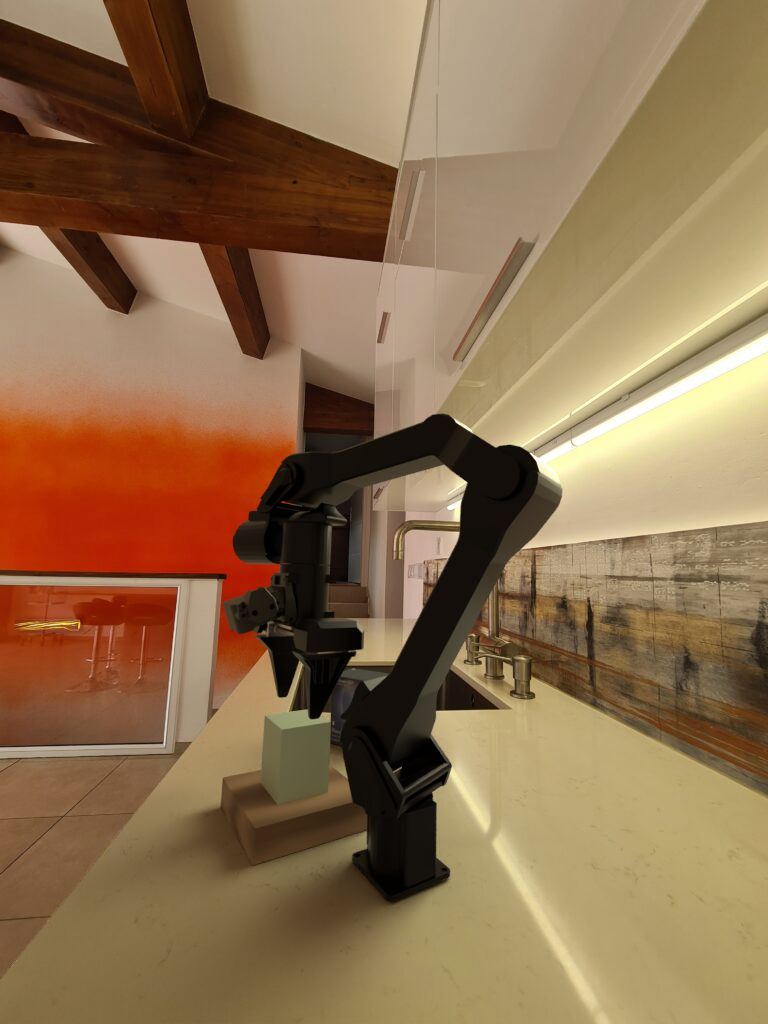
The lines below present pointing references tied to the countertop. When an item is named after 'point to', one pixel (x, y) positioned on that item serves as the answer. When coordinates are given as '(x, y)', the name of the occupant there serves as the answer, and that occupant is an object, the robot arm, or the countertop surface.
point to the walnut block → (288, 816)
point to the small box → (346, 697)
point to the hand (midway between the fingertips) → (297, 707)
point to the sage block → (295, 755)
